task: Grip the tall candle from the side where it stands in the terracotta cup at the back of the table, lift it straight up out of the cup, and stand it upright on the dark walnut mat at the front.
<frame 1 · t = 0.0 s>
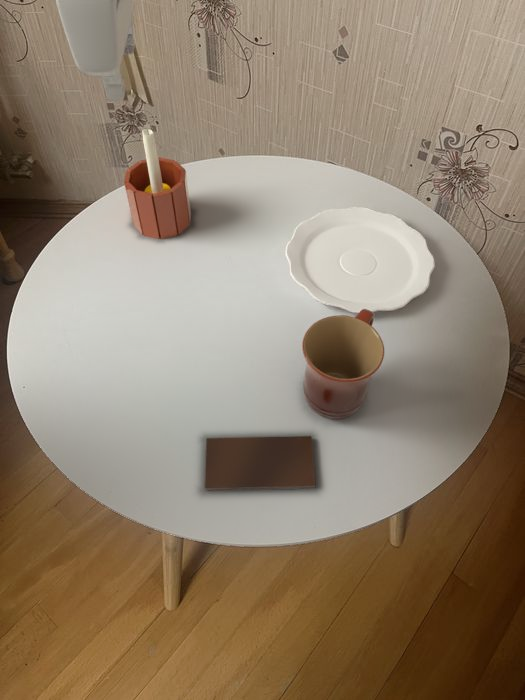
hand: (122, 73, 61), 27 cm above the table, tool pointing down, fingers open, 8 cm apart
plate: (357, 264, 82), on the table
candle: (162, 220, 87), resting in holder cup
mug: (338, 387, 70), on the table
holder cup: (162, 219, 87), on the table
walnut mat: (259, 464, 63), on the table
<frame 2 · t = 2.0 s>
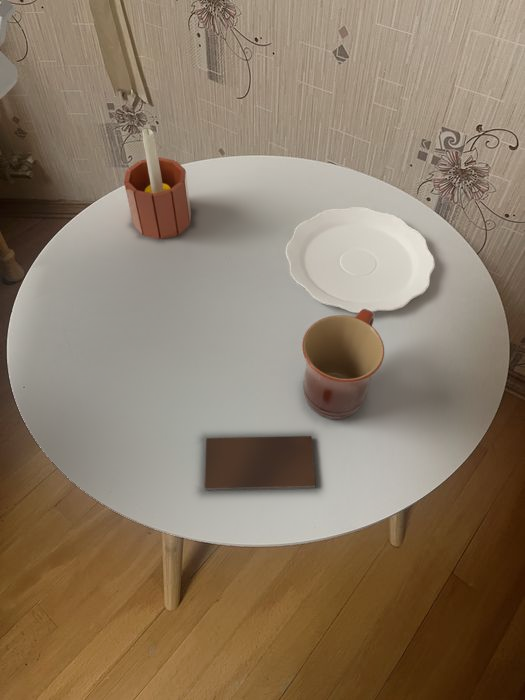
nothing on the table moved.
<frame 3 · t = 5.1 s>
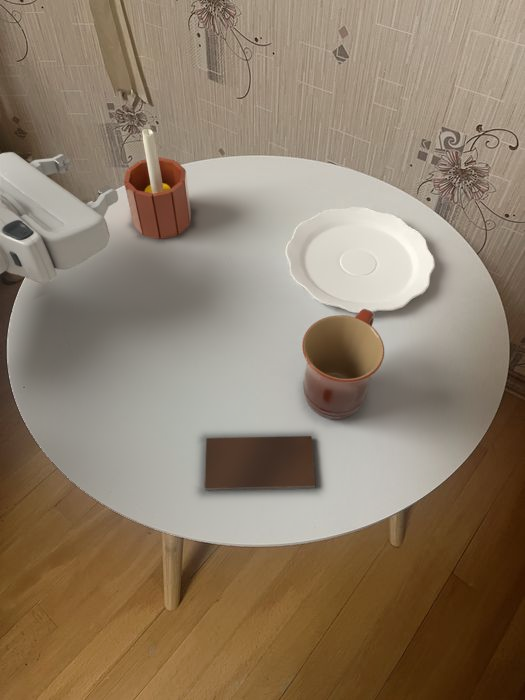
hand: (90, 175, 73), 13 cm above the table, tool horizontal, fingers open, 8 cm apart
nothing on the table moved.
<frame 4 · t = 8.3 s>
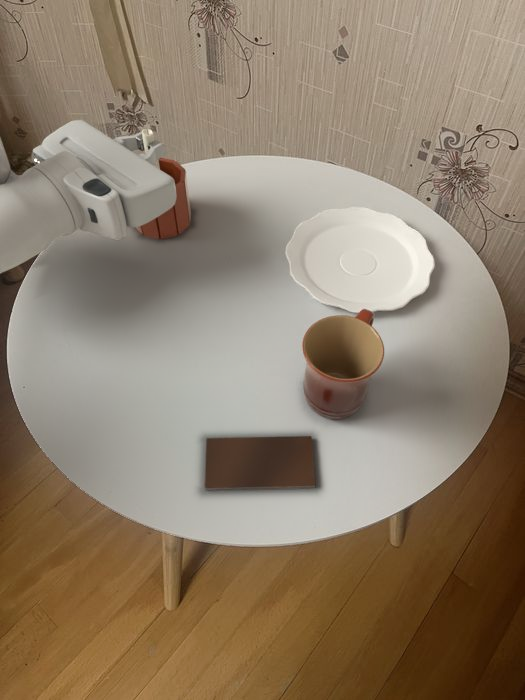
hand: (154, 142, 77), 13 cm above the table, tool horizontal, fingers closed on candle
candle: (162, 220, 87), resting in holder cup, touching gripper
everything else where it was.
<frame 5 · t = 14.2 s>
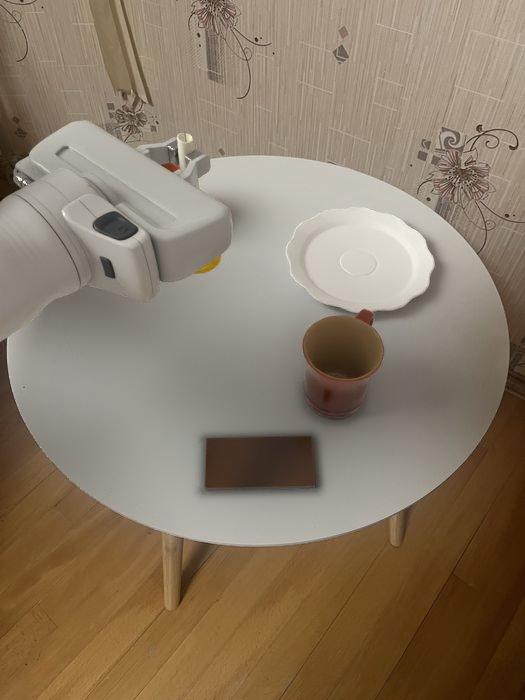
hand: (194, 152, 53), 27 cm above the table, tool horizontal, fingers closed on candle
candle: (197, 258, 63), point 14 cm above the table, touching gripper
everything else where it was.
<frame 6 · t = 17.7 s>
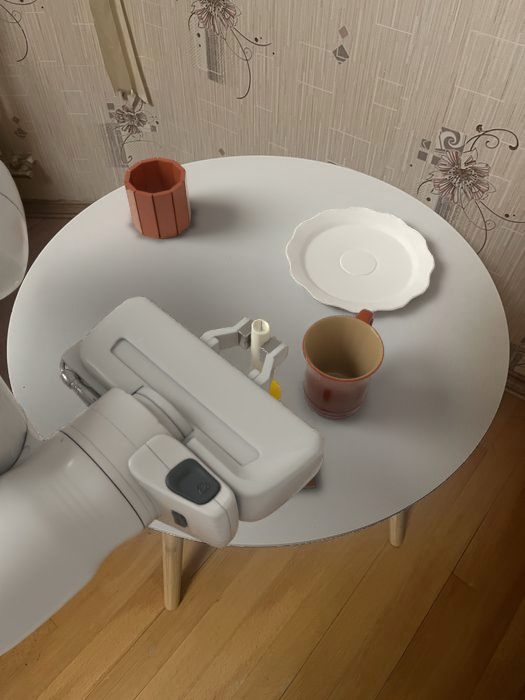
hand: (268, 335, 45), 23 cm above the table, tool horizontal, fingers closed on candle
candle: (258, 422, 56), point 10 cm above the table, touching gripper
everything else where it was.
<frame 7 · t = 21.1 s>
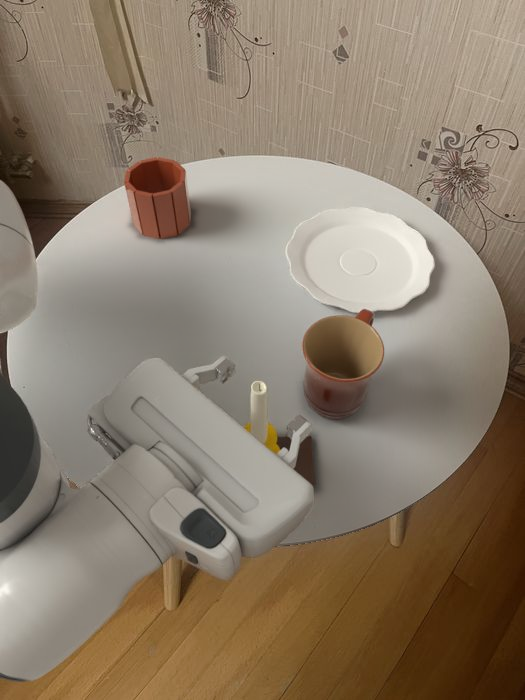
hand: (266, 391, 52), 14 cm above the table, tool horizontal, fingers open, 8 cm apart
candle: (258, 459, 63), point 1 cm above the table, touching walnut mat
everything else where it was.
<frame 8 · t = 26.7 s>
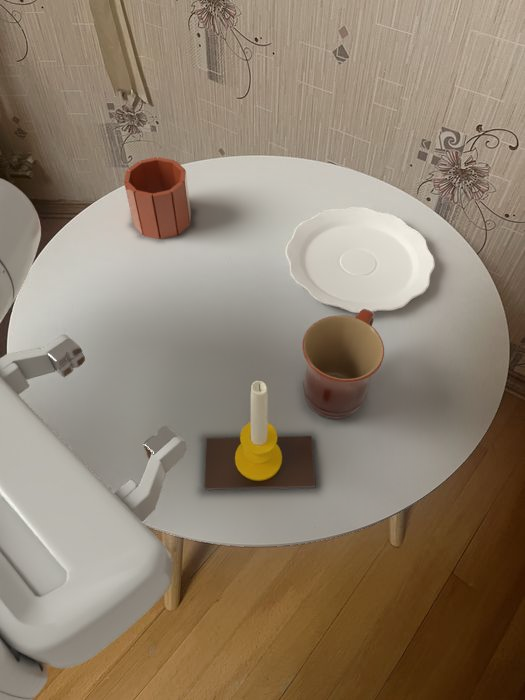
hand: (124, 389, 34), 30 cm above the table, tool horizontal, fingers open, 8 cm apart
nothing on the table moved.
at the end: candle inside the target area on the walnut mat (0.2 cm from its centre), point 0.6 cm above the walnut mat's base; candle tilted 0°; candle touching walnut mat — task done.
